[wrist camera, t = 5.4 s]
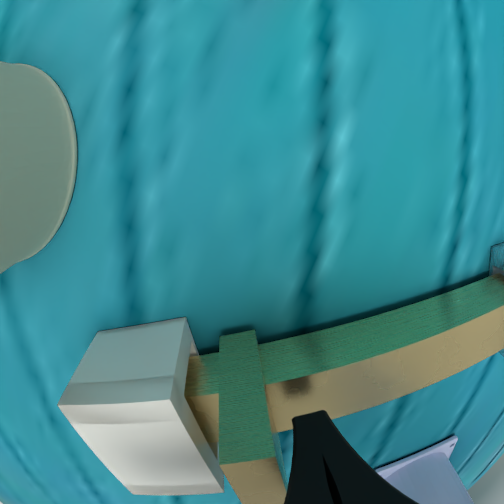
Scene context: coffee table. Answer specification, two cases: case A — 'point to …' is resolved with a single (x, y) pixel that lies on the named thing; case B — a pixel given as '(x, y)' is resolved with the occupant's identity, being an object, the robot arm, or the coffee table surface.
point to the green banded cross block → (332, 376)
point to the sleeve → (497, 265)
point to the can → (33, 161)
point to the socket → (143, 410)
